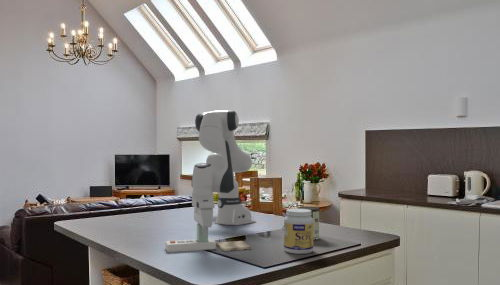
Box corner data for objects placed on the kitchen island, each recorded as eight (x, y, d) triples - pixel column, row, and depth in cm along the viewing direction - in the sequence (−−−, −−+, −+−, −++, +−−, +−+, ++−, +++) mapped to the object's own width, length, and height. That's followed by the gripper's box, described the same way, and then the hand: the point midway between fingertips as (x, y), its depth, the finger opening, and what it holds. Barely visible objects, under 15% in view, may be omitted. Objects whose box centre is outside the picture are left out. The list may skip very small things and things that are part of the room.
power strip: (211, 245, 199) (211, 237, 199) (215, 248, 192) (215, 240, 192) (165, 248, 193) (165, 239, 193) (167, 252, 186) (167, 243, 186)
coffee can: (299, 234, 223) (300, 205, 223) (320, 236, 220) (321, 207, 220) (294, 239, 213) (295, 208, 213) (316, 240, 210) (317, 209, 210)
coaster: (242, 243, 204) (242, 240, 204) (250, 249, 193) (250, 246, 193) (216, 244, 200) (216, 242, 200) (223, 251, 189) (223, 248, 189)
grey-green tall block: (205, 246, 197) (206, 219, 197) (207, 248, 193) (208, 221, 193) (196, 247, 196) (196, 219, 196) (198, 249, 192) (198, 221, 192)
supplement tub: (292, 255, 182) (292, 213, 182) (278, 249, 193) (278, 208, 193) (319, 253, 187) (319, 211, 187) (303, 246, 198) (304, 207, 198)
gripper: (190, 199, 203) (190, 230, 203) (200, 205, 184) (199, 239, 184) (204, 198, 205) (204, 229, 205) (215, 204, 186) (215, 238, 186)
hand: (202, 234), depth 194 cm, fingers closed on grey-green tall block, 4 cm apart
